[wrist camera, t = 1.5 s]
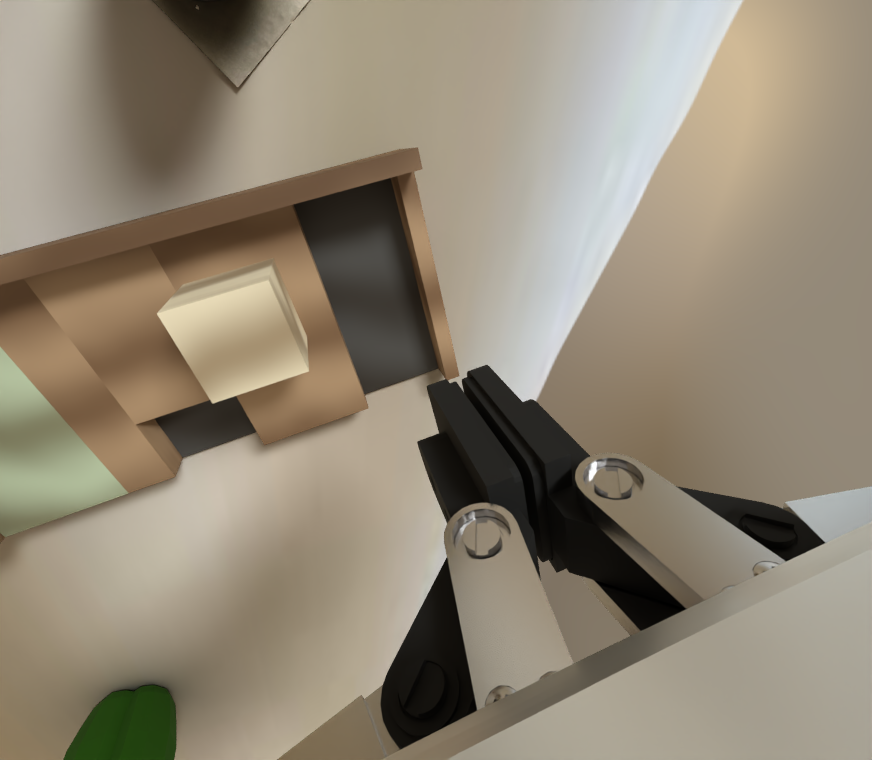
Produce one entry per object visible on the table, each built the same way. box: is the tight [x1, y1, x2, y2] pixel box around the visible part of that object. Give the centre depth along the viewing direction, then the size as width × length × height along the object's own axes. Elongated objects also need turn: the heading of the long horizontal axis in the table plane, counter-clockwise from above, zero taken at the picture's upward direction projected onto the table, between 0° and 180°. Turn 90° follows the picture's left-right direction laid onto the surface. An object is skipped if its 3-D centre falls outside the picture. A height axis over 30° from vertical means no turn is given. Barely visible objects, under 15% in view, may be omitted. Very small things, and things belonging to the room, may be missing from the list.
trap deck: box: [0, 148, 459, 543], centre depth 24 cm, size 15×32×4 cm, turn 103°
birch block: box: [157, 258, 309, 404], centre depth 22 cm, size 5×5×5 cm
